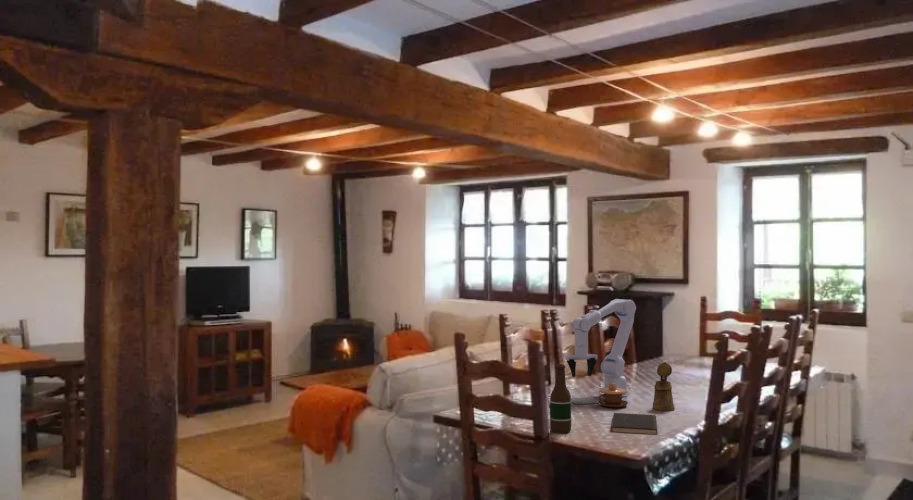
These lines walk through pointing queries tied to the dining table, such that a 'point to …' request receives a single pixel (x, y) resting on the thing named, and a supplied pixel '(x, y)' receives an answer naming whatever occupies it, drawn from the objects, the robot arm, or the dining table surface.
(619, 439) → the dining table surface
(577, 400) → the coaster
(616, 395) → the cup and saucer
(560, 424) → the beer bottle
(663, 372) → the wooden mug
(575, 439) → the dining table surface
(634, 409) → the dining table surface
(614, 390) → the lid
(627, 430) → the hardcover book
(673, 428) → the dining table surface
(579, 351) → the robot arm
